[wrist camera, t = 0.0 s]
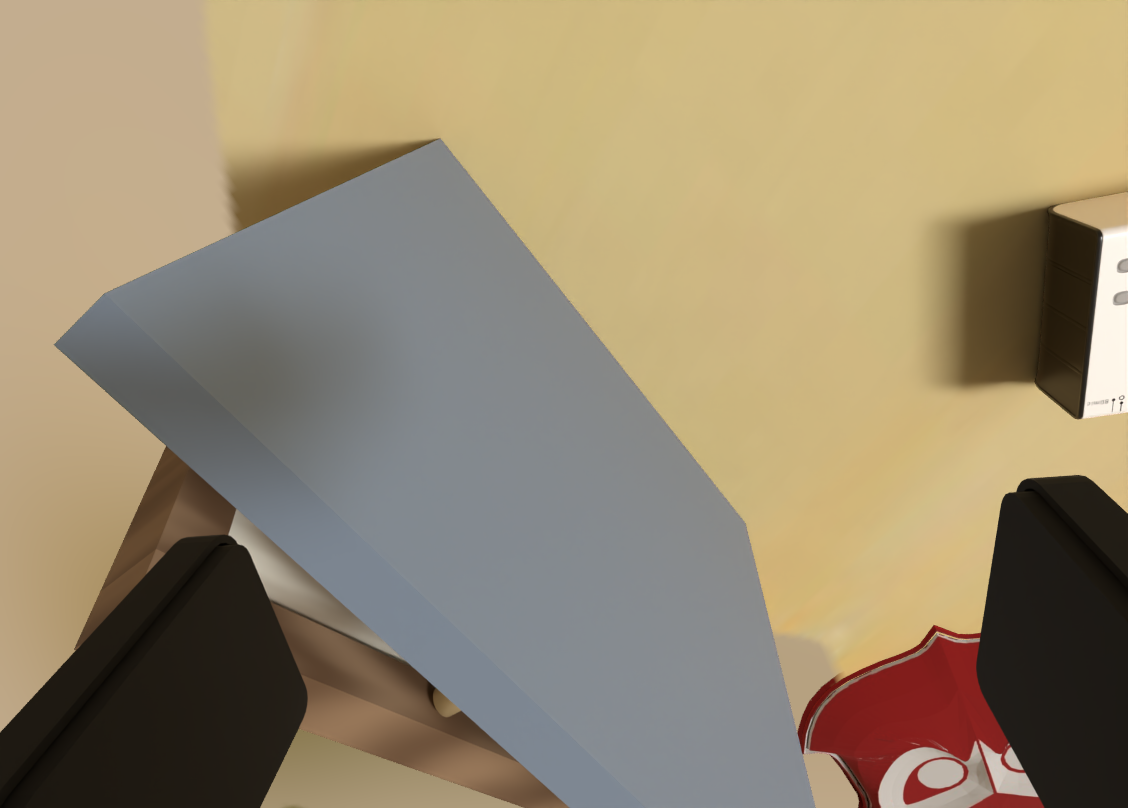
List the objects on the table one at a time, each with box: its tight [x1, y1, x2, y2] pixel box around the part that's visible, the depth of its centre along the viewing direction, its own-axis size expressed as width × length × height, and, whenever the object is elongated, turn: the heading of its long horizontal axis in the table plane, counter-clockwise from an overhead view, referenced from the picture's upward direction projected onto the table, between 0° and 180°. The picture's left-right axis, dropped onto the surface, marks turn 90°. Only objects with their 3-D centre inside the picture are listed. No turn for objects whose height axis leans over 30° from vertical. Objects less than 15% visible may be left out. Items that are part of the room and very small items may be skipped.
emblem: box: [797, 625, 1044, 808], centre depth 60 cm, size 29×3×30 cm
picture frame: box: [74, 446, 569, 808], centre depth 33 cm, size 24×3×17 cm, turn 38°
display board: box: [54, 139, 816, 808], centre depth 35 cm, size 34×7×30 cm, turn 38°
